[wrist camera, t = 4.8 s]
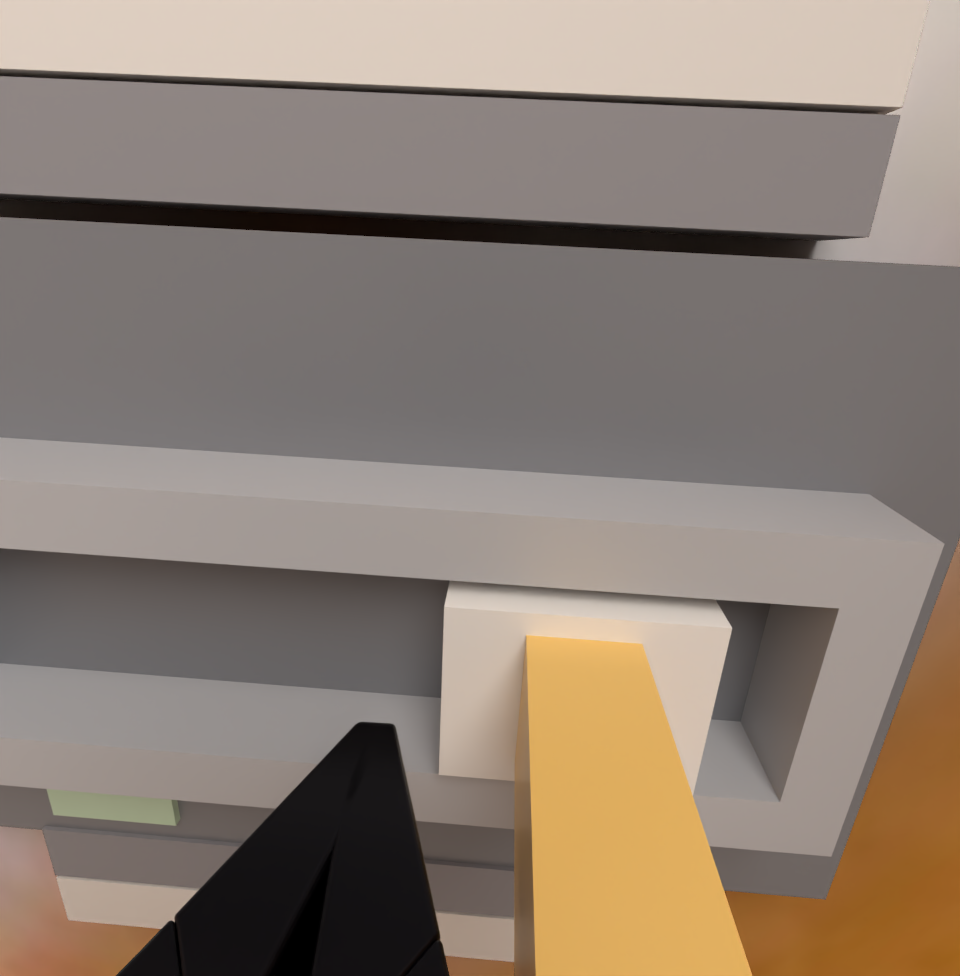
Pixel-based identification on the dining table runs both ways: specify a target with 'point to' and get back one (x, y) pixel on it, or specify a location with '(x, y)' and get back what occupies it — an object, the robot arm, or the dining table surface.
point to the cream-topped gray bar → (464, 109)
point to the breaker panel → (452, 511)
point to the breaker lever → (595, 770)
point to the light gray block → (191, 862)
